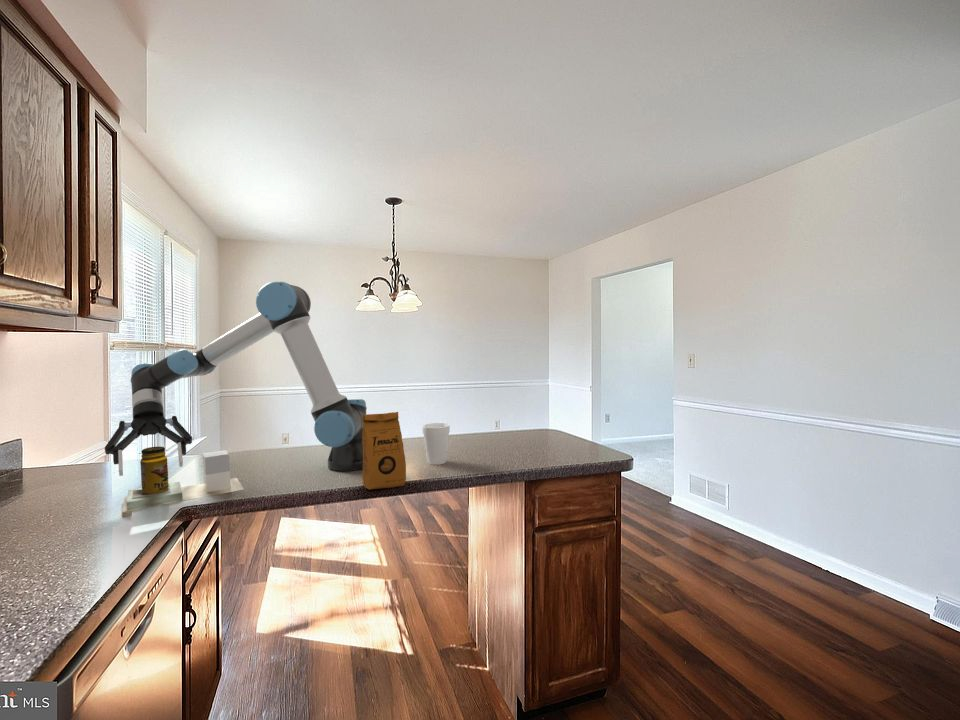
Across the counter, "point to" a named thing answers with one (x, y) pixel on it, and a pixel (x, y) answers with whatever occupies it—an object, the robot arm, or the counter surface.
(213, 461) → the block pillar
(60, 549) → the counter surface
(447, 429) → the foam cup
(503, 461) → the counter surface
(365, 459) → the coffee package
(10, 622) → the counter surface
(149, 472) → the condiment
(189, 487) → the build board
